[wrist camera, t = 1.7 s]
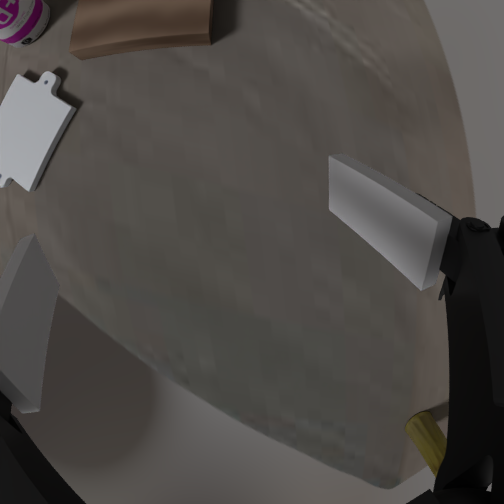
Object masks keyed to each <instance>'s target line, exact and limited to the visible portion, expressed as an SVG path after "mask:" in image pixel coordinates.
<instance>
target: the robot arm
mask: <svg viewBox="0 0 504 504" xmlns="http://www.w3.org/2000/svg"><path fill="white" fill-rule="evenodd" d="M329 210H330V211H331V212H332V213H334V214H335V215H336V216H337V217H339V218H340V219H341V220H342V221H343V222H344V223H346V224H347V225H348V226H349V227H350V228H352V229H353V230H354V231H355V232H356V233H357V234H359V235H360V236H361V237H362V238H363V239H364V240H366V241H367V242H368V243H369V244H370V245H371V246H372V247H374V248H375V249H376V250H377V251H378V252H379V253H380V254H382V255H383V256H384V257H385V258H386V259H387V260H388V261H389V262H390V263H392V264H393V265H394V266H395V267H396V268H397V269H398V270H399V271H400V272H401V273H402V274H404V275H405V276H406V277H407V278H408V279H409V280H410V281H411V282H412V283H413V284H414V285H415V286H416V287H418V288H419V289H420V290H421V291H422V290H424V289H426V288H428V287H430V286H432V285H434V284H436V281H437V277H438V274H439V270H441V271H442V272H443V273H444V274H445V275H446V276H445V279H444V282H443V285H442V289H441V292H440V295H439V299H438V300H441V299H442V296H443V295H444V294H445V302H446V312H447V325H448V341H449V417H448V433H447V445H446V452H445V456H444V459H443V461H442V463H441V465H440V467H439V469H438V472H437V475H436V480H435V484H434V490H433V492H432V491H431V490H430V489H429V490H427V491H426V492H424V493H423V494H421V495H419V496H418V497H416V498H415V499H413V500H411V501H410V502H408V503H406V504H504V216H503V217H502V218H501V222H500V226H499V228H491V227H490V226H489V225H488V224H487V223H485V222H484V221H481V220H480V219H477V218H473V217H466V218H462V219H461V220H459V219H458V218H456V217H455V216H453V215H452V214H450V213H449V212H447V211H446V210H444V209H442V208H441V207H439V206H436V204H434V203H433V202H431V201H429V200H428V199H426V198H425V197H423V196H421V195H420V194H417V193H414V192H413V191H411V190H409V189H408V188H406V187H404V186H402V185H401V184H399V183H397V182H395V181H394V180H392V179H390V178H388V177H387V176H385V175H383V174H381V173H379V172H378V171H376V170H374V169H372V168H370V167H368V166H366V165H365V164H363V163H361V162H359V161H357V160H355V159H353V158H351V157H349V156H347V155H345V154H343V153H341V154H335V155H330V156H329ZM59 286H60V284H59V283H58V281H57V279H56V277H55V275H54V273H53V271H52V269H51V267H50V265H49V263H48V261H47V259H46V257H45V255H44V253H43V250H42V248H41V246H40V244H39V242H38V240H37V237H36V235H35V233H34V234H31V235H29V236H26V237H23V238H21V239H20V241H19V242H18V244H17V246H16V248H15V250H14V252H13V254H12V256H11V258H10V260H9V262H8V264H7V266H6V268H5V270H4V272H3V274H2V276H1V278H0V504H86V503H85V502H84V501H83V500H82V499H81V498H80V497H79V496H78V495H77V494H76V493H75V492H74V490H72V488H71V487H70V486H69V485H68V484H67V483H66V482H65V481H64V479H63V478H62V477H61V476H60V475H59V474H58V472H57V471H56V470H55V469H54V468H53V467H52V465H51V464H50V463H49V462H48V460H47V459H46V458H45V457H44V456H43V454H42V453H41V452H40V450H39V449H38V448H37V446H36V445H35V444H34V442H33V441H32V440H31V438H30V437H29V435H28V434H27V433H26V431H25V430H24V428H23V427H22V425H21V424H20V423H19V421H18V420H17V418H16V417H15V416H13V415H12V414H11V406H12V404H13V405H14V406H15V407H16V408H18V410H20V411H21V412H22V413H29V412H36V411H40V403H41V392H42V381H43V374H44V366H45V359H46V352H47V345H48V340H49V334H50V328H51V323H52V318H53V313H54V308H55V303H56V299H57V295H58V290H59ZM491 483H492V489H491V492H489V491H486V490H487V488H488V486H489V485H490V484H491Z"/></svg>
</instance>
